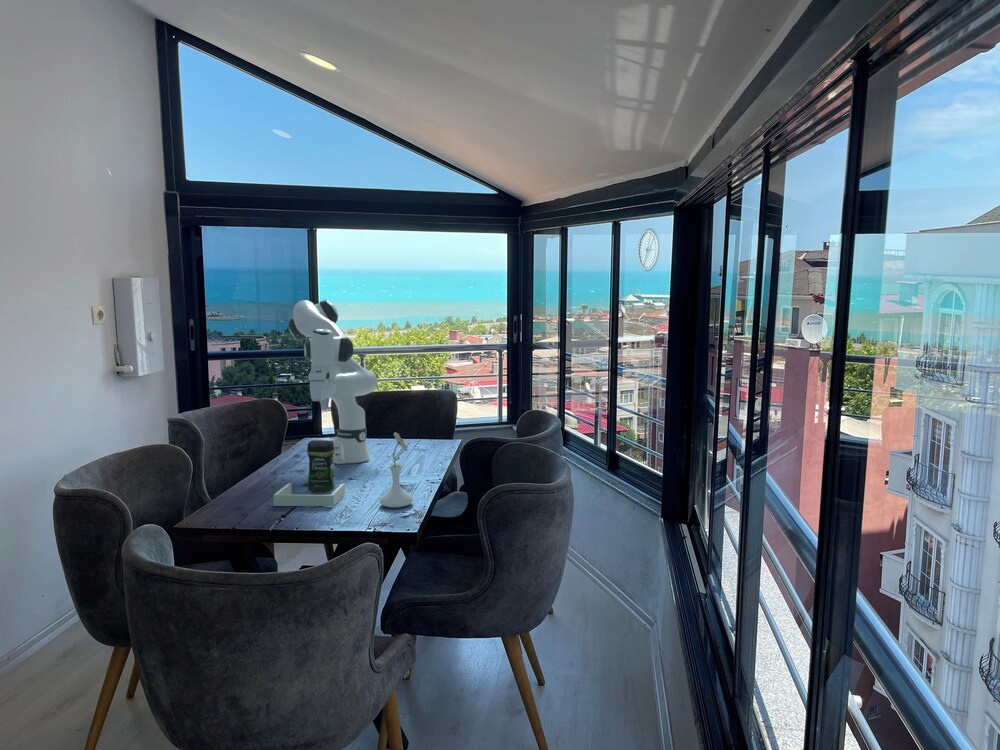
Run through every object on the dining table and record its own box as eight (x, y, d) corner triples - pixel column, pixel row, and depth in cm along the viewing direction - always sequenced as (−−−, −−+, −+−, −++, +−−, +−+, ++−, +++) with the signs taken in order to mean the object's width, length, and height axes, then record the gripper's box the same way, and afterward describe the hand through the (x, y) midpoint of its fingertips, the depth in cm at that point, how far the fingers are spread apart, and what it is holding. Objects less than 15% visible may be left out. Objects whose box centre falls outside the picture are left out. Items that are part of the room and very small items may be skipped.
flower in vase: (412, 510, 219) (411, 436, 216) (377, 511, 218) (376, 437, 215) (414, 498, 232) (413, 429, 229) (381, 499, 231) (380, 429, 228)
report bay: (288, 493, 237) (288, 483, 237) (344, 494, 236) (344, 483, 236) (273, 506, 223) (273, 495, 222) (333, 507, 222) (332, 495, 221)
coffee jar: (305, 492, 239) (303, 442, 237) (312, 486, 247) (310, 438, 245) (331, 492, 238) (330, 442, 236) (337, 486, 246) (336, 438, 244)
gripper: (323, 369, 254) (325, 405, 255) (306, 376, 233) (307, 414, 235) (339, 369, 253) (340, 405, 255) (323, 376, 233) (325, 414, 235)
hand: (324, 409), depth 245 cm, fingers closed
